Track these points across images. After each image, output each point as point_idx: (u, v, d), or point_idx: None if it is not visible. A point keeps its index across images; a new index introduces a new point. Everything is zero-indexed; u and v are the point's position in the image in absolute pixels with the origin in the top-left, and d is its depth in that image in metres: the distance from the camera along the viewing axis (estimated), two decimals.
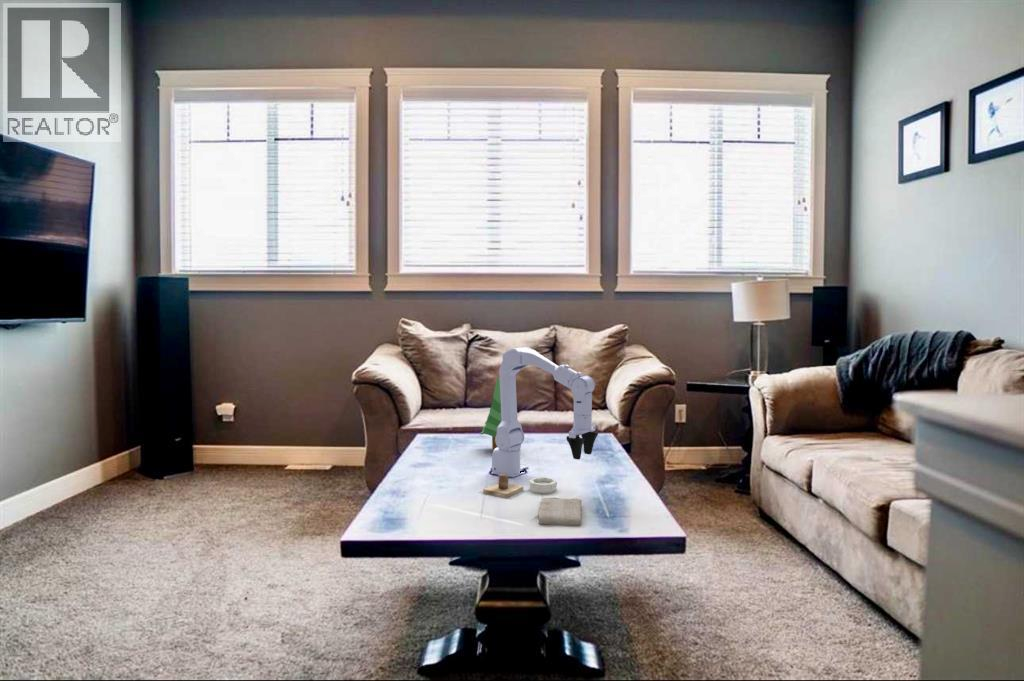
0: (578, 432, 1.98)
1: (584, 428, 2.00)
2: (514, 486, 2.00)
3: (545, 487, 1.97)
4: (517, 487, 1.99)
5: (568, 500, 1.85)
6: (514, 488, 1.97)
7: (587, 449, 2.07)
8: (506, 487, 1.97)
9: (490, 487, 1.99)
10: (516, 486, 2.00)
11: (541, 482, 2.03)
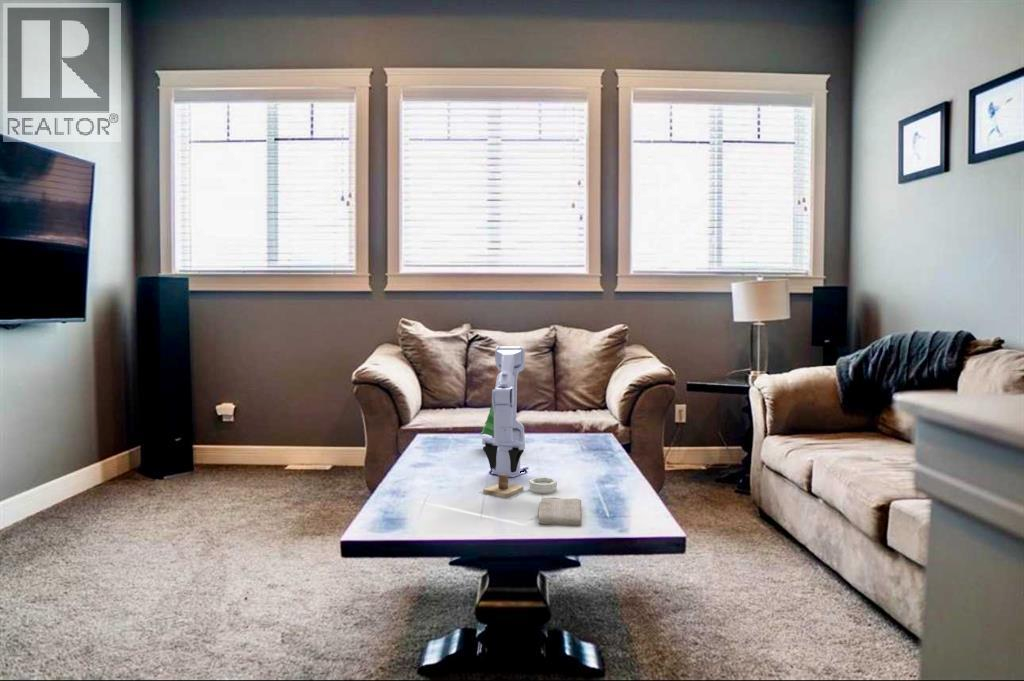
0: (486, 440, 1.99)
1: (494, 439, 1.97)
2: (514, 486, 2.00)
3: (545, 487, 1.97)
4: (517, 487, 1.99)
5: (568, 500, 1.85)
6: (514, 488, 1.97)
7: None
8: (506, 487, 1.97)
9: (490, 487, 1.99)
10: (516, 486, 2.00)
11: (541, 482, 2.03)
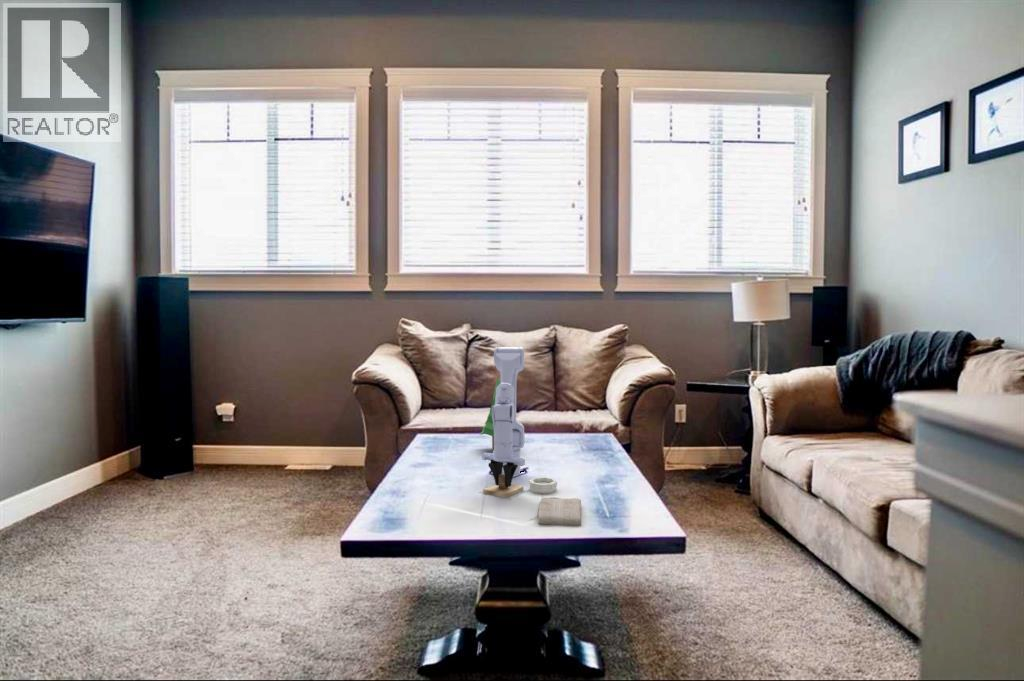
0: (486, 456, 1.99)
1: (494, 455, 1.97)
2: (514, 486, 2.00)
3: (545, 487, 1.97)
4: (517, 487, 1.99)
5: (568, 500, 1.85)
6: (514, 488, 1.97)
7: None
8: (506, 487, 1.97)
9: (490, 487, 1.99)
10: (516, 486, 2.00)
11: (541, 482, 2.03)
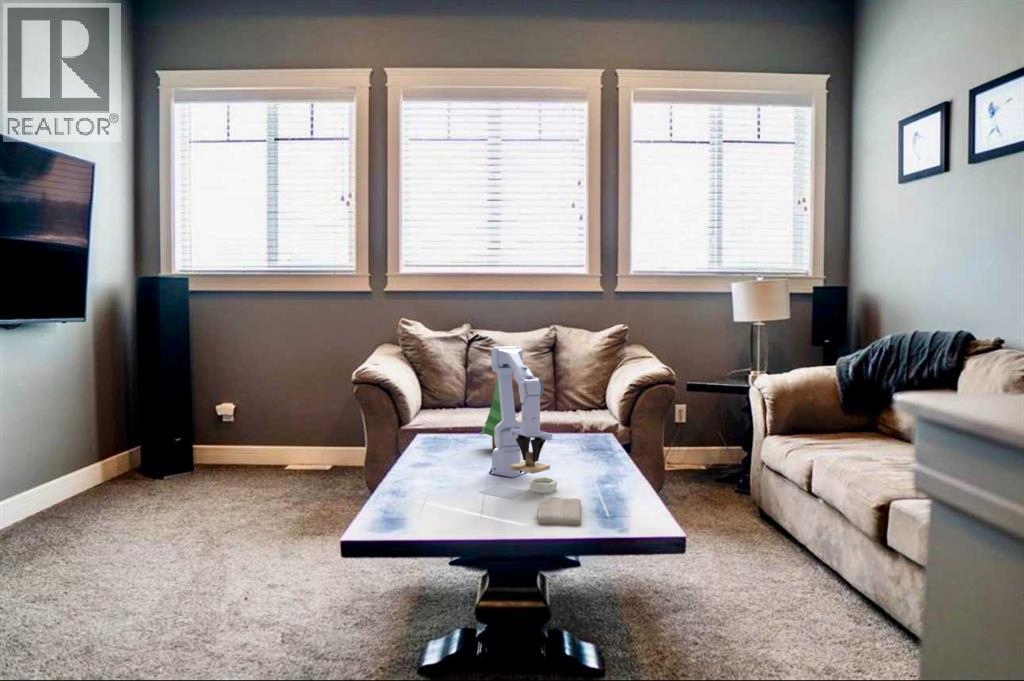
0: (514, 431, 2.01)
1: (521, 430, 1.99)
2: (541, 464, 2.00)
3: (545, 487, 1.97)
4: (544, 465, 1.99)
5: (568, 500, 1.85)
6: (541, 466, 1.98)
7: None
8: (533, 464, 1.98)
9: (517, 464, 2.00)
10: (543, 464, 2.01)
11: (541, 482, 2.03)
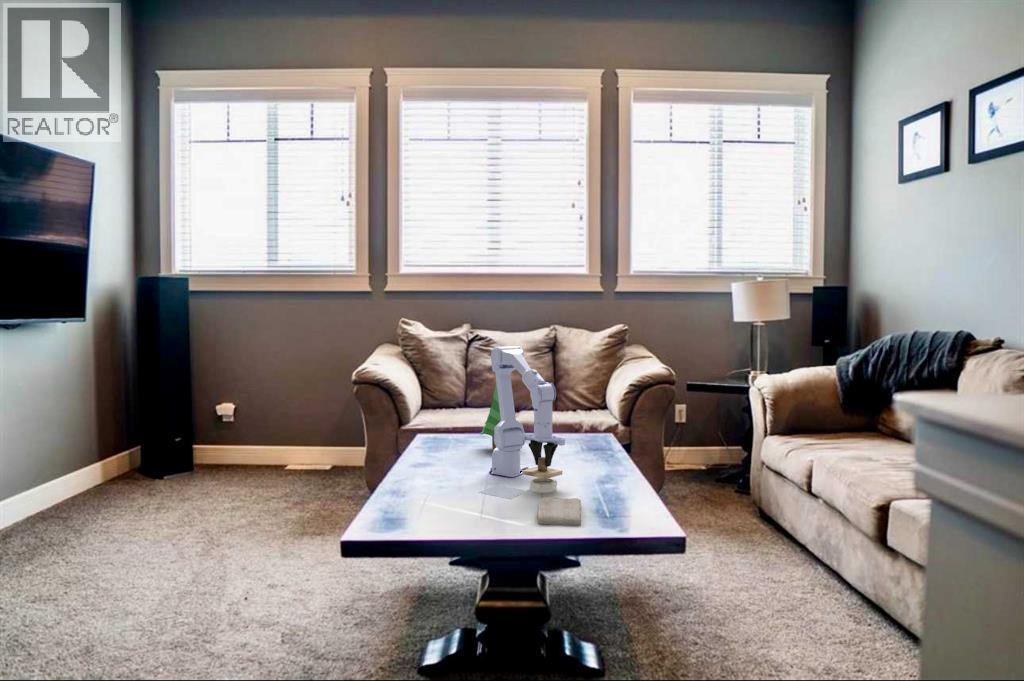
0: (526, 436, 2.02)
1: (534, 435, 1.99)
2: (553, 470, 2.01)
3: (545, 487, 1.97)
4: (556, 470, 2.00)
5: (568, 500, 1.85)
6: (553, 471, 1.99)
7: None
8: (545, 470, 1.99)
9: (529, 469, 2.01)
10: (555, 470, 2.01)
11: (541, 482, 2.03)
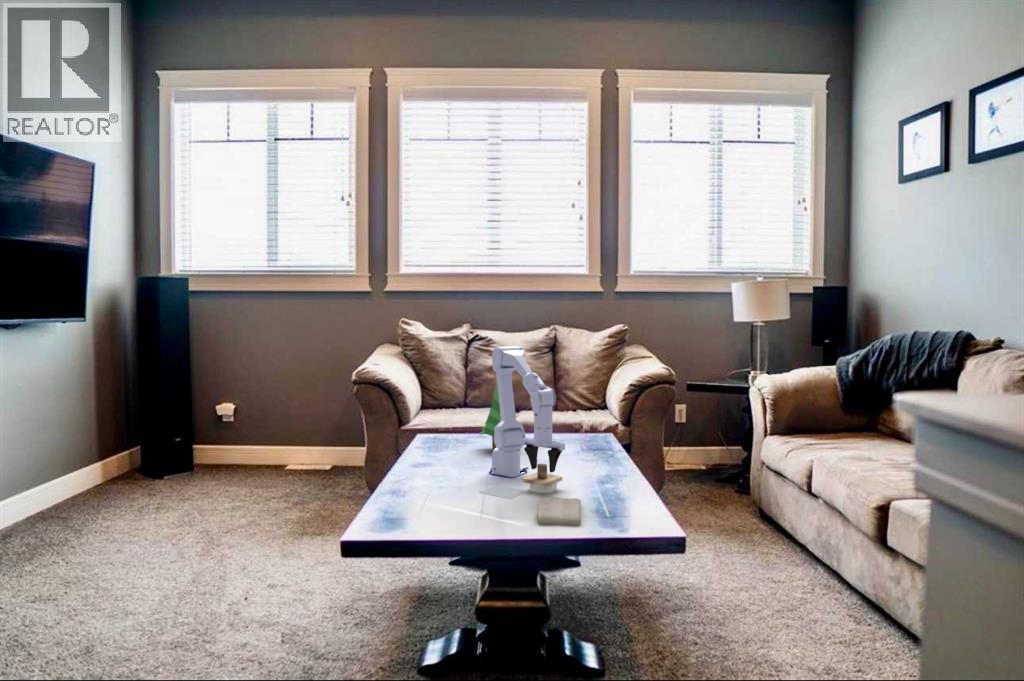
0: (526, 441, 2.02)
1: (534, 440, 2.00)
2: (553, 476, 2.01)
3: (545, 487, 1.97)
4: (556, 477, 2.00)
5: (567, 500, 1.85)
6: (553, 478, 1.99)
7: None
8: (545, 477, 1.99)
9: (529, 476, 2.01)
10: (555, 476, 2.02)
11: None
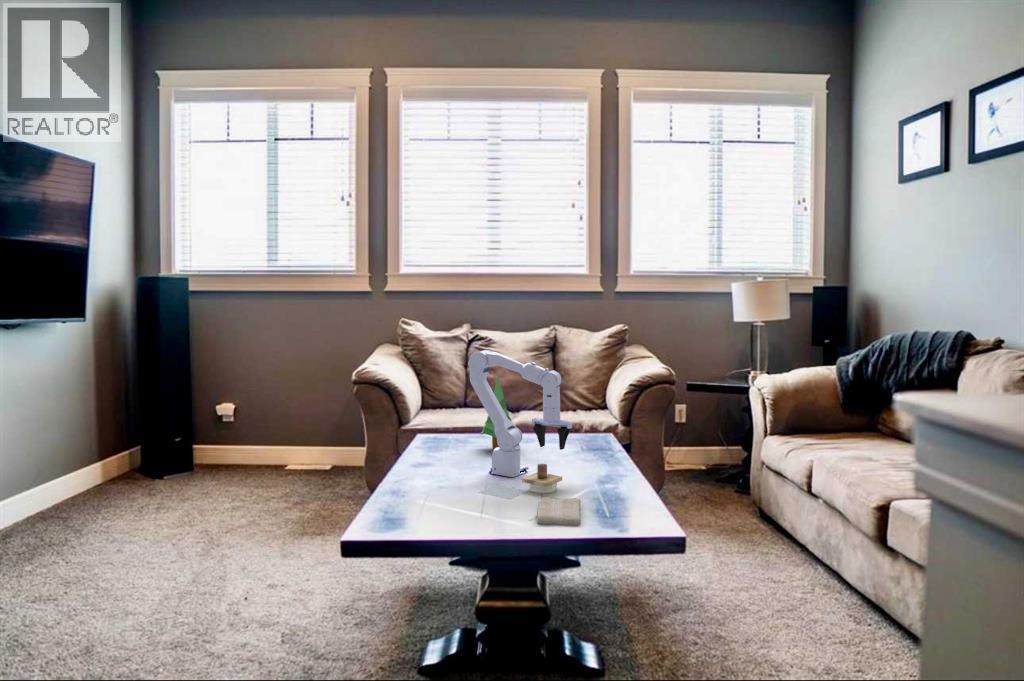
0: (536, 420, 2.16)
1: (543, 419, 2.13)
2: (553, 476, 2.01)
3: (545, 487, 1.97)
4: (556, 477, 2.00)
5: (567, 500, 1.85)
6: (553, 478, 1.99)
7: None
8: (545, 477, 1.99)
9: (529, 476, 2.01)
10: (555, 476, 2.02)
11: None
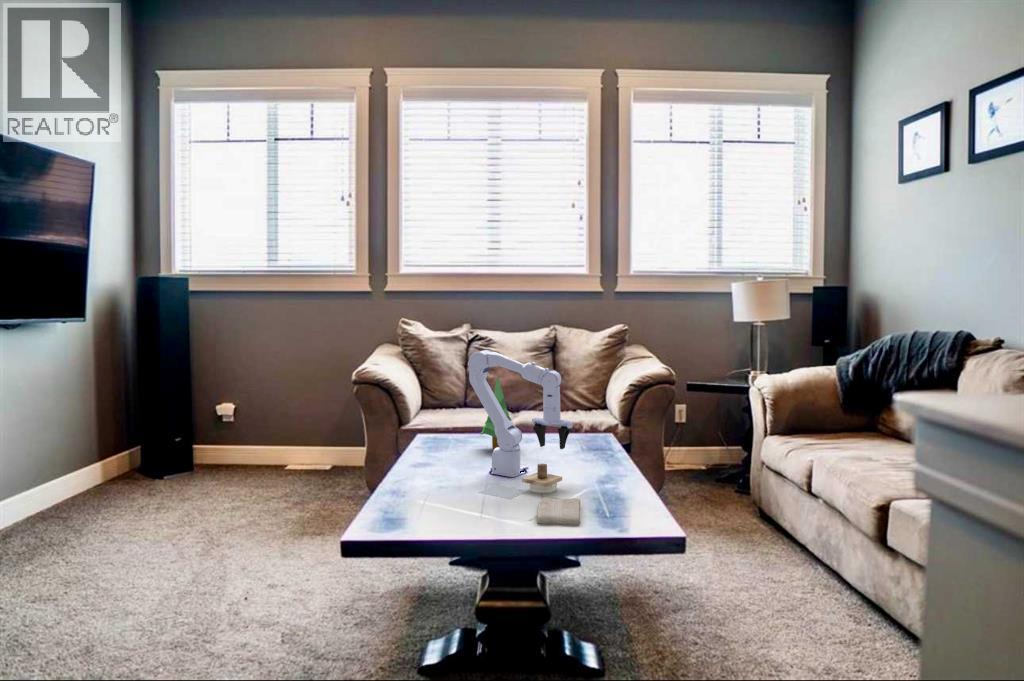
0: (536, 420, 2.16)
1: (543, 419, 2.14)
2: (553, 476, 2.01)
3: (545, 487, 1.97)
4: (556, 477, 2.00)
5: (567, 500, 1.85)
6: (553, 478, 1.99)
7: None
8: (545, 477, 1.99)
9: (529, 476, 2.01)
10: (555, 476, 2.02)
11: None
